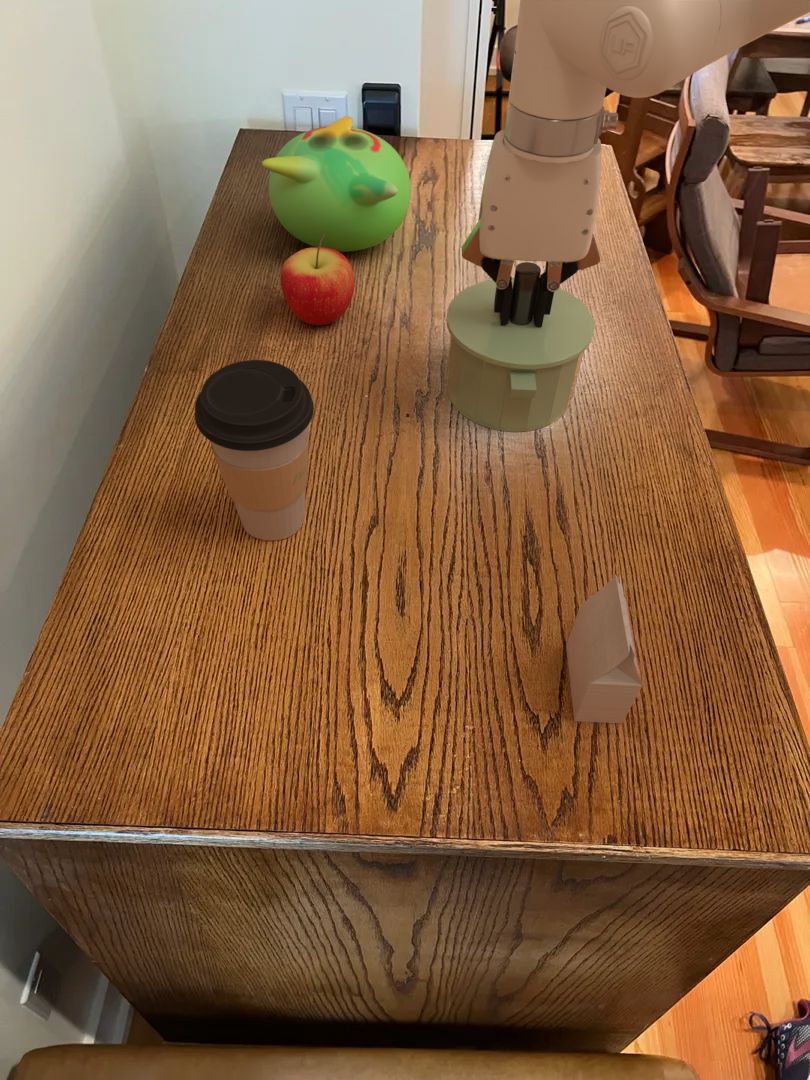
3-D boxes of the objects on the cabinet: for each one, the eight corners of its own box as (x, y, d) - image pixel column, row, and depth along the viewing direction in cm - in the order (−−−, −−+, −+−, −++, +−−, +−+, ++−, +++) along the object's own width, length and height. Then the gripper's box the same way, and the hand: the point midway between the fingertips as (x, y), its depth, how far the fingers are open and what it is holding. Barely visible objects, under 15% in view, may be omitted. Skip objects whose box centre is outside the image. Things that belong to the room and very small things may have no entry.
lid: (583, 290, 83) (596, 231, 78) (600, 377, 73) (616, 317, 68) (446, 284, 83) (450, 225, 78) (445, 371, 73) (450, 310, 68)
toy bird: (414, 217, 108) (418, 104, 96) (401, 283, 97) (404, 165, 86) (287, 207, 109) (277, 94, 97) (261, 272, 98) (245, 154, 86)
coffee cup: (336, 540, 70) (327, 414, 58) (234, 569, 68) (204, 444, 56) (306, 470, 75) (292, 343, 64) (211, 495, 73) (179, 367, 62)
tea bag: (574, 721, 59) (603, 653, 51) (565, 646, 63) (591, 573, 56) (622, 723, 59) (658, 656, 51) (610, 648, 63) (642, 575, 56)
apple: (368, 311, 93) (367, 233, 85) (326, 346, 88) (320, 267, 81) (314, 289, 96) (308, 212, 88) (270, 322, 91) (260, 243, 83)
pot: (562, 340, 90) (576, 274, 84) (579, 452, 78) (598, 386, 72) (446, 335, 90) (452, 269, 84) (446, 446, 78) (452, 380, 72)
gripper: (643, 110, 65) (596, 300, 79) (452, 103, 65) (439, 293, 80) (658, 150, 61) (605, 344, 75) (452, 141, 61) (439, 337, 75)
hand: (520, 316), depth 77 cm, fingers closed
